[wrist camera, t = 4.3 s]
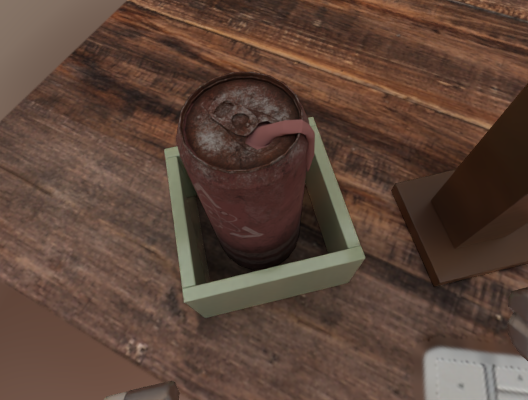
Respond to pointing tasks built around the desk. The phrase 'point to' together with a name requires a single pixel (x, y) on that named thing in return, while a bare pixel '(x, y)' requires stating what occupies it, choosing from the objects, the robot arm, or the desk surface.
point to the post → (474, 205)
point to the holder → (275, 278)
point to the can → (248, 163)
